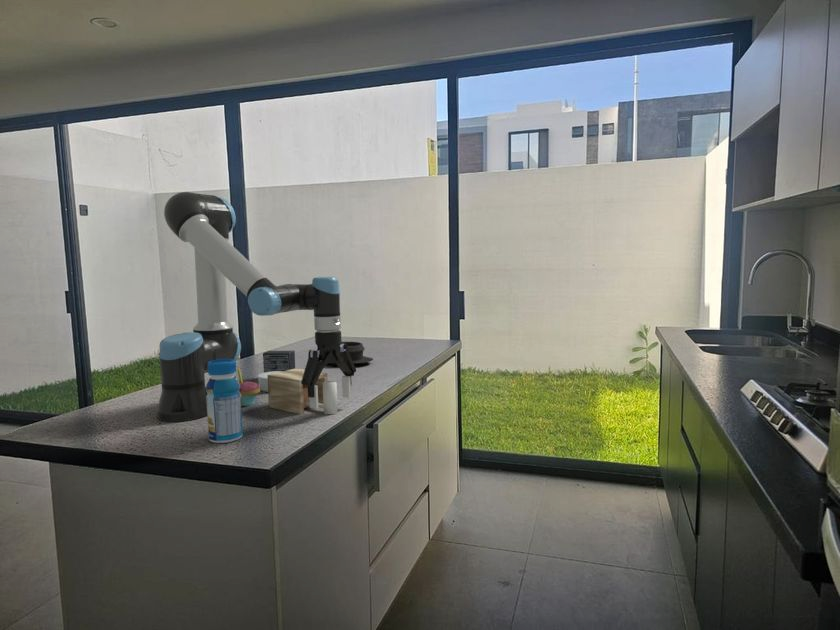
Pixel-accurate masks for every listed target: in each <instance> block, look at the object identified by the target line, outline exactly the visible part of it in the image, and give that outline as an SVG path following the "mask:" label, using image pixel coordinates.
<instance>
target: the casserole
mask: <svg viewBox="0 0 840 630" xmlns="http://www.w3.org/2000/svg"><path fill="white" fill-rule="evenodd" d="M340 344H347V345H348V351H349V354H350V356H351V358H352V361H353V363H354V364H355V365H359V364H367V363H369V362H371V361H374V358H373V357H368V356H365V355H364V351H365V349H366V347H364V344H363V343H362V342H358V341H342V342H341V343H340ZM339 354H340V353H339ZM340 355H341V354H340ZM330 364H331V365H333V366H337V364H336V363H335V362H331V363H330Z"/></svg>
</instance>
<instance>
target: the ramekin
mask: <svg viewBox="0 0 840 630" xmlns="http://www.w3.org/2000/svg"><path fill="white" fill-rule="evenodd" d="M278 372H283V371H272V372H265V373H264V372H262V373H259V374H257V380H258V383H259V384H258V385H259V387H260V391H262V392H266V393H268V378H267V375H270V374H274V373H278Z"/></svg>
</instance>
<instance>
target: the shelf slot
mask: <svg viewBox="0 0 840 630" xmlns="http://www.w3.org/2000/svg"><path fill="white" fill-rule="evenodd" d="M304 371H305V369H303V368H296V367H295V369H291V370H287V371H283V372H278V373H274V374H270V375H267V378H268V392H267V394H268V408H272V409H276V410H279V411H280V410H281V411H284V412H289V413H292V414H293V413H294V414H299V415H303V414H305V411H304V410H305V408H304V407H303V384H301V381H302V378H303V374H304ZM306 381H307V380H306ZM326 381H329V379H328V373H327V372H323V371H322V372H321V374H320V376H319V378H318V380H317V382H316V384H315V385H316V386H318V403H320V404H323V382H326Z"/></svg>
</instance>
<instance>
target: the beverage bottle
mask: <svg viewBox="0 0 840 630" xmlns="http://www.w3.org/2000/svg"><path fill="white" fill-rule="evenodd" d="M236 361H237V360H236ZM236 361H235V360H234V359H216V360H212V361H209V362H208V364H207V366H208V373H207V374H208V376H209V377H210V378H209V379H208V381H207V383H206V384H205V387H206V392H207V396H206V404H207V414H208V415H207V427H208V429H207V430H208V441H210V442H212V443H214V444H225V443H226V444H227V443H231V442H236V441H238V440H240V439H241V438H242V437H243V431H244V430H243V420H242V417H243V416H242V406H241V393H240V392H239V389H240V380H239V379H238V377H236V376H235V374H236V373H237V362H236Z"/></svg>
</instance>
